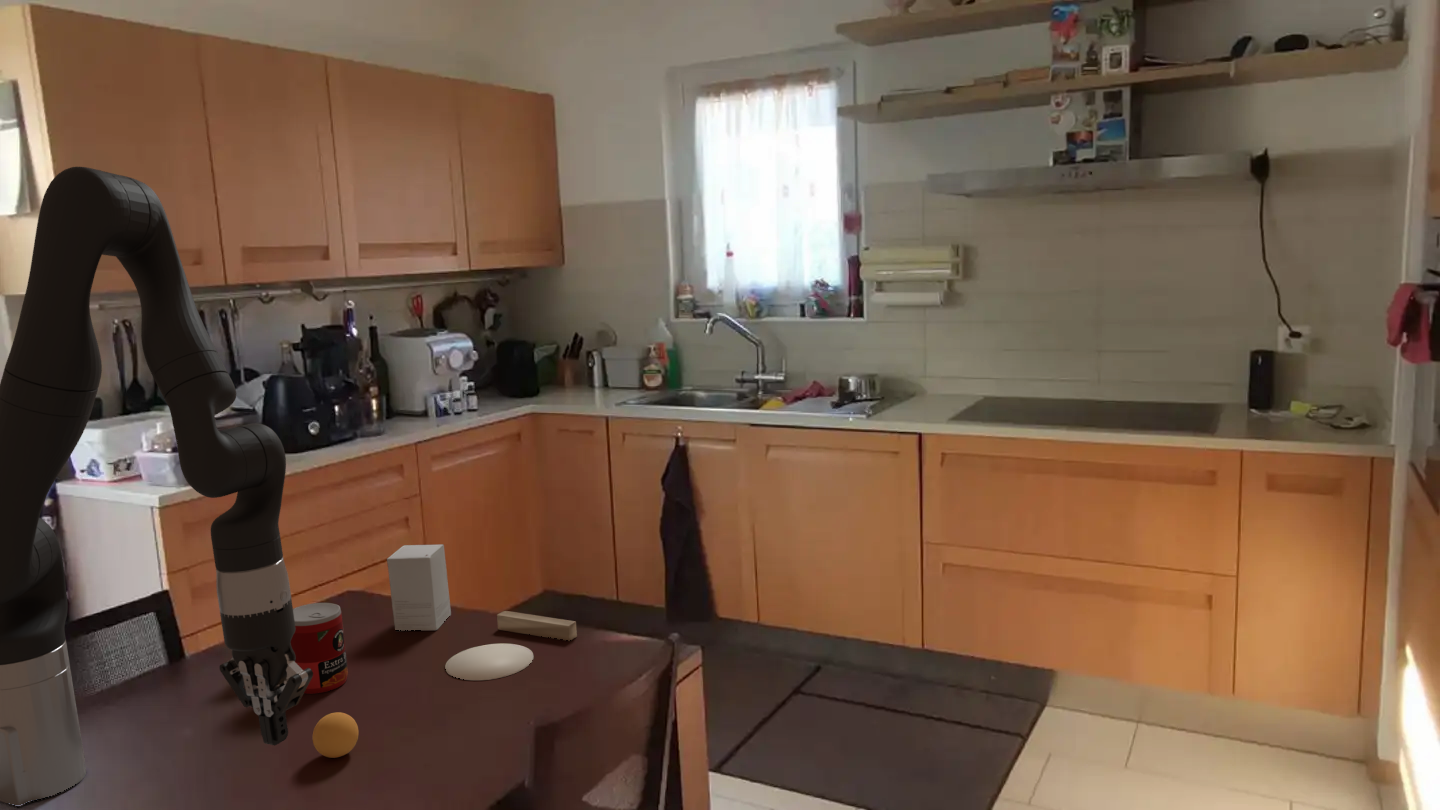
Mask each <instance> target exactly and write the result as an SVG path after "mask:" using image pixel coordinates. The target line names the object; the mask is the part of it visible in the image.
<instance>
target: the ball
mask: <svg viewBox="0 0 1440 810" xmlns="http://www.w3.org/2000/svg"><path fill="white" fill-rule="evenodd" d="M359 732H360V731H359V726H358V724H357V722H356V720H355V718H353V717H352V716H351V715H349V714H347V713H344V712H341V711H339V712H332V713H328V714H326V715H324V716H323V717H321V718H320V720H318V722H317V723H316V725H315V726H314V728H313V733H312V743H313V747H314V748H315V750H316V751H317V752H318V753H319V754H320V755H322V756H324V757H326V758H334V759H335V758H341V757H343V756H345V755H347V754H348V753H350V752H351V751H352V750H353V749H354V748H355V746H356V744H357V742H358V739H359Z"/></svg>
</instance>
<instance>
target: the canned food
mask: <svg viewBox="0 0 1440 810" xmlns="http://www.w3.org/2000/svg"><path fill="white" fill-rule="evenodd" d="M293 613H294V620H295V628H296V630H295V633H294V635H293V636H292V639H291V642H290V643H291V647H292V649H293V651H294V653H295V656H296V659H295V663H296V664H297V665H298V666H299V667H300V668H301V669H302V670H305V669H307V668H310V669H311V670H312V672H313V677H312V679H311V681H310V683H309V685H308V686H307V688H306V690H305V692H304V694H306V695H307V694H308V695H314V694H322V693H327V692H331V691H333V690H336V689H338V688H339V687H342V686H343V685H344V684H345V683H346V682H347V679H348V676H349V672H348V671H349V670H348V661H347V660H348V659H347V651H346V641H345V632H344V623H343V614H342V610H341V606H340V605H338V604H336V603H331V602H313V603H308V604H303V605H300V606H297V607H293ZM330 690H331V691H330Z"/></svg>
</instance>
